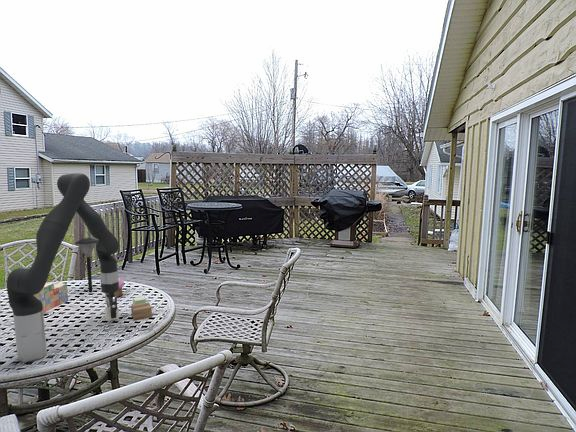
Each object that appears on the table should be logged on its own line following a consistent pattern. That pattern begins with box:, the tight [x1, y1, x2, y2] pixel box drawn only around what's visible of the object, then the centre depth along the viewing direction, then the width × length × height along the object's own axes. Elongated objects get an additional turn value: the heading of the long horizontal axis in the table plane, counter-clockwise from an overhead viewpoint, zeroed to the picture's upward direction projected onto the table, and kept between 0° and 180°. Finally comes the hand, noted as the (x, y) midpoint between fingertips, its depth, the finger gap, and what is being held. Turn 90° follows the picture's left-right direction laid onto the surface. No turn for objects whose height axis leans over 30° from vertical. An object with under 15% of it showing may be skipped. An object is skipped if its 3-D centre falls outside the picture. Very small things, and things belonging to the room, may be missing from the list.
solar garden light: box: [74, 237, 98, 293], centre depth 221 cm, size 12×12×30 cm
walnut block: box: [130, 301, 153, 321], centre depth 187 cm, size 8×8×5 cm
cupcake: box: [115, 277, 125, 298], centre depth 214 cm, size 9×9×10 cm
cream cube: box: [104, 305, 120, 322], centre depth 184 cm, size 5×5×5 cm
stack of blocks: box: [34, 282, 69, 313], centre depth 198 cm, size 21×6×12 cm, turn 170°
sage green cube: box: [132, 296, 147, 305], centre depth 197 cm, size 5×5×5 cm
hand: (111, 315), depth 184 cm, fingers open, 7 cm apart
